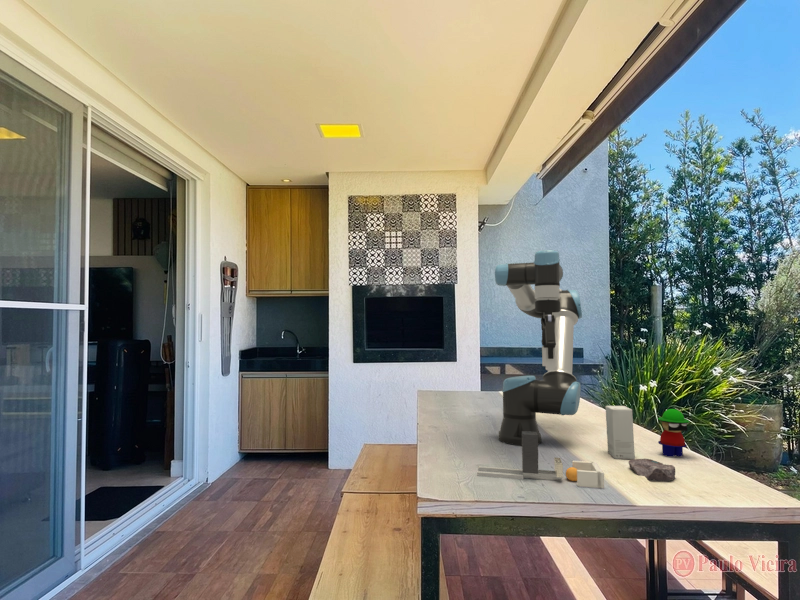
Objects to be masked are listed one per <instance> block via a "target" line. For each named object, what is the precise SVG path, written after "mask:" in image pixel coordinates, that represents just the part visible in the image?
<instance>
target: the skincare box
mask: <svg viewBox="0 0 800 600" xmlns="http://www.w3.org/2000/svg"><path fill="white" fill-rule="evenodd" d="M633 418H634V417H633V409H632V408H629V407H627V406H626V405H605V421H606V422H605V423H606V437H607V438H606V439H607V441H606V442H607V453H608V454H609V455H610V456H611V457H612V458H613V459H615V460H618V459H619V460H632V459H636V457H635V453H636V452H635V438H634V437H635V435H634V420H633Z"/></svg>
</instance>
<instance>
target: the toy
mask: <svg viewBox="0 0 800 600" xmlns="http://www.w3.org/2000/svg"><path fill="white" fill-rule="evenodd" d="M657 420H658V421H660V422H661V426H662V427H663V429H664V430H663V431H662V433H660V438H659V440H658V441H657V443H658V444H659V445H661V448H662V449H661V450H662V456H665V457H669V458H670V457H671V458H672V457H683V456H684V454H683V450H684V449H683V448H686V447H687V444H686V440H685V437H684V436H683V433H682V432H686V431H688V424H689V423H690V422H691V421H690V420H689V419H686V418H685V416H684V414H683V413H682V412H681V410H679V409H676V408H669V409H668V408H667V409H666V410H665V411H664V412H663V414H662V416H661V417H660V416H659V417H658V418H657Z"/></svg>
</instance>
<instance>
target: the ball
mask: <svg viewBox="0 0 800 600" xmlns="http://www.w3.org/2000/svg"><path fill="white" fill-rule="evenodd" d="M565 476H566V478H567V480H569V481H570V482H577V469H576V468H574V467H572V466H571V467H568V468H567V469H566V471H565Z"/></svg>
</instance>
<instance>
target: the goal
mask: <svg viewBox="0 0 800 600" xmlns="http://www.w3.org/2000/svg"><path fill="white" fill-rule="evenodd" d="M571 463H572V466H571V467H574V468H576V469H577V481H576V486H577V487H579V488H581V487H583V488H593V489H594V488H595V489H605V472H604V470H603V469H602V468H601V466H600V465H599V463H598V462H597V461H584V460H583V461H582V460H572V462H571Z"/></svg>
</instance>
